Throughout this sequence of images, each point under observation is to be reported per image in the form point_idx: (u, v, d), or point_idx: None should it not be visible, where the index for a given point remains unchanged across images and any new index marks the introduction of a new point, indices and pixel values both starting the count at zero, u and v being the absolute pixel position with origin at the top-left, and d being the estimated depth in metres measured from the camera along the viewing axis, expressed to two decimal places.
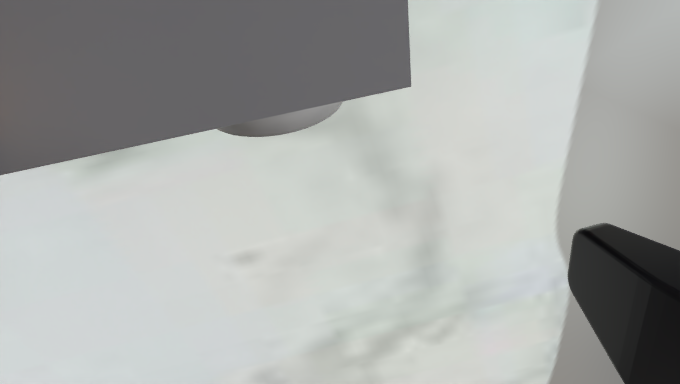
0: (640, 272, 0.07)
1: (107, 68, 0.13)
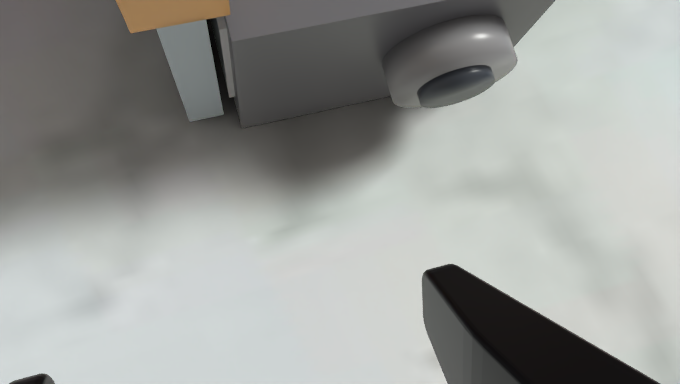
0: (466, 322, 0.07)
1: None
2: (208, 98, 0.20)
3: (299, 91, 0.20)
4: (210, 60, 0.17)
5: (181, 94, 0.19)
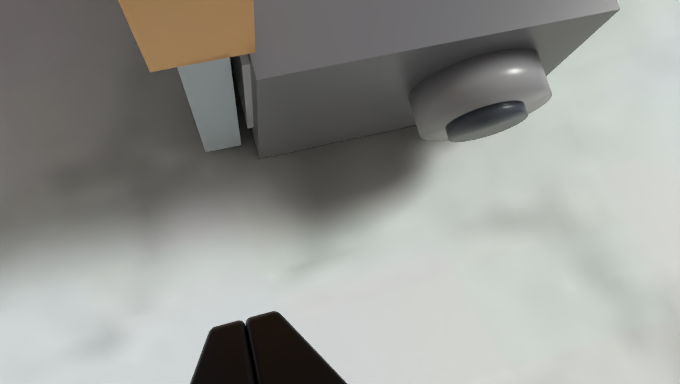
0: (261, 381, 0.06)
1: None
2: (227, 130, 0.19)
3: (321, 124, 0.19)
4: (231, 95, 0.17)
5: (199, 127, 0.18)
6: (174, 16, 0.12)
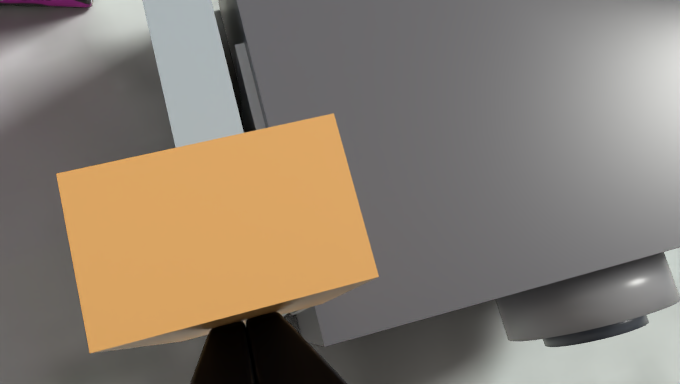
0: (261, 381, 0.06)
1: (447, 205, 0.12)
2: None
3: None
4: None
5: None
6: None
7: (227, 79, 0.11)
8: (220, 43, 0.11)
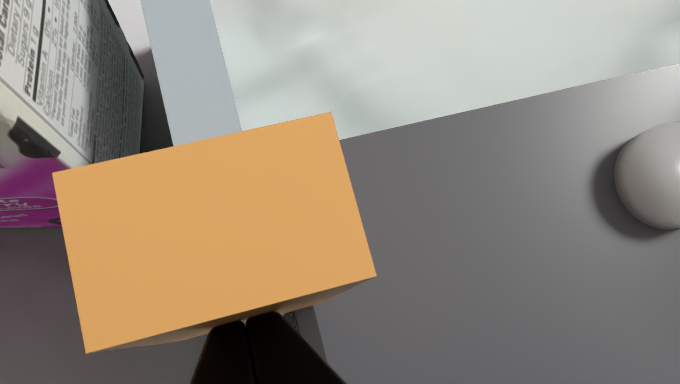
0: (261, 381, 0.06)
1: None
2: None
3: None
4: None
5: None
6: None
7: (225, 78, 0.11)
8: (218, 42, 0.11)
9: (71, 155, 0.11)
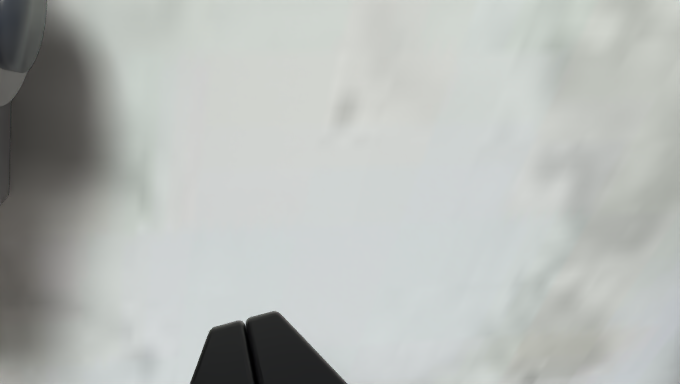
0: (261, 381, 0.06)
1: None
2: None
3: None
4: None
5: None
6: None
7: None
8: None
9: None
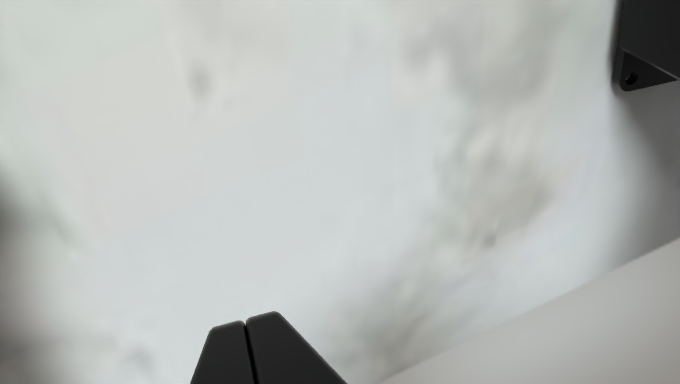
0: (261, 380, 0.06)
1: None
2: None
3: None
4: None
5: None
6: None
7: None
8: None
9: None
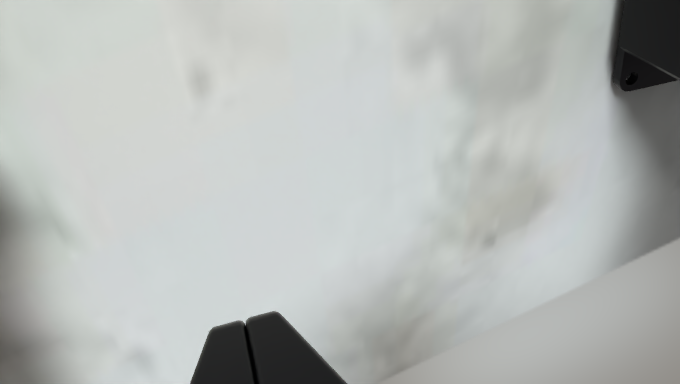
0: (261, 380, 0.06)
1: None
2: None
3: None
4: None
5: None
6: None
7: None
8: None
9: None
